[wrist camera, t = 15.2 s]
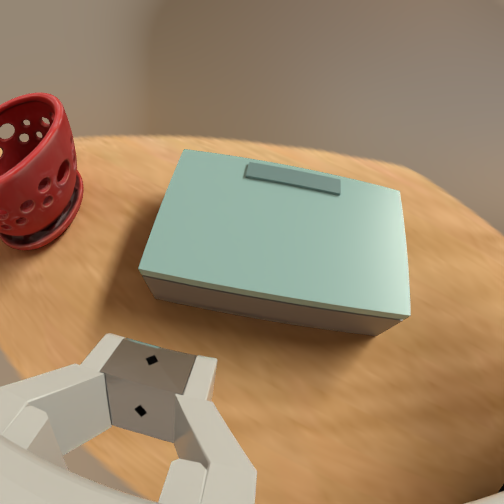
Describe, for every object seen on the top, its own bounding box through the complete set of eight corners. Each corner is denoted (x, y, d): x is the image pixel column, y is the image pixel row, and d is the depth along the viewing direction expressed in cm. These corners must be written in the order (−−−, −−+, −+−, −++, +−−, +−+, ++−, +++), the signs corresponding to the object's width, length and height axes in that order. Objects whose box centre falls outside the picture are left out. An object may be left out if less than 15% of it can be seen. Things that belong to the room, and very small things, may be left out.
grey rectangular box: (376, 224, 33) (395, 197, 28) (376, 335, 27) (402, 320, 23) (188, 189, 33) (184, 156, 29) (155, 298, 28) (142, 276, 23)
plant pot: (41, 284, 27) (-27, 219, 16) (-13, 226, 29) (-66, 165, 19) (120, 189, 33) (89, 102, 22) (54, 152, 35) (21, 80, 24)
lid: (395, 197, 28) (400, 189, 27) (404, 319, 23) (412, 314, 22) (184, 156, 29) (183, 146, 28) (141, 274, 23) (137, 266, 22)
